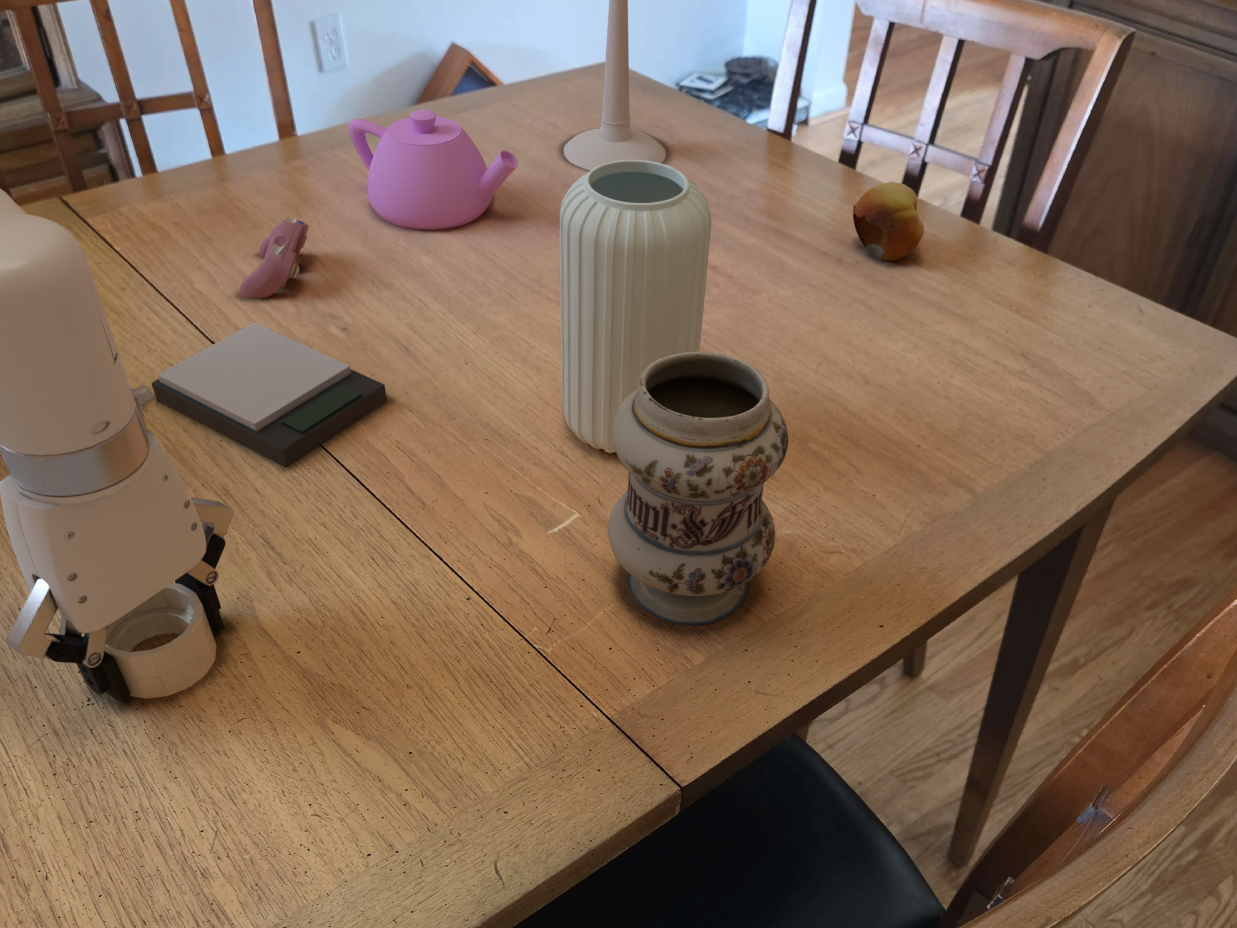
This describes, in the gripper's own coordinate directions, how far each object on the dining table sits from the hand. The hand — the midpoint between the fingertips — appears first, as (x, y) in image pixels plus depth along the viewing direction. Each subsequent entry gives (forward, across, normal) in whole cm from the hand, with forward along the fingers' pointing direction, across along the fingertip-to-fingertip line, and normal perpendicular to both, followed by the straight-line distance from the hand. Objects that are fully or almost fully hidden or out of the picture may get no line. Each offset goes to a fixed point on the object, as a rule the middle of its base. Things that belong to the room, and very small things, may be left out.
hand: (160, 654), depth 75 cm
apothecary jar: (+1, -28, +25) cm, 38 cm away
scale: (+1, -26, -17) cm, 31 cm away
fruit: (+1, -86, +14) cm, 87 cm away
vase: (+1, -42, +10) cm, 43 cm away
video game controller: (+1, -42, -33) cm, 53 cm away
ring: (+1, 0, 0) cm, 1 cm away
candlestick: (+1, -89, -24) cm, 92 cm away
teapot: (+1, -64, -31) cm, 71 cm away
